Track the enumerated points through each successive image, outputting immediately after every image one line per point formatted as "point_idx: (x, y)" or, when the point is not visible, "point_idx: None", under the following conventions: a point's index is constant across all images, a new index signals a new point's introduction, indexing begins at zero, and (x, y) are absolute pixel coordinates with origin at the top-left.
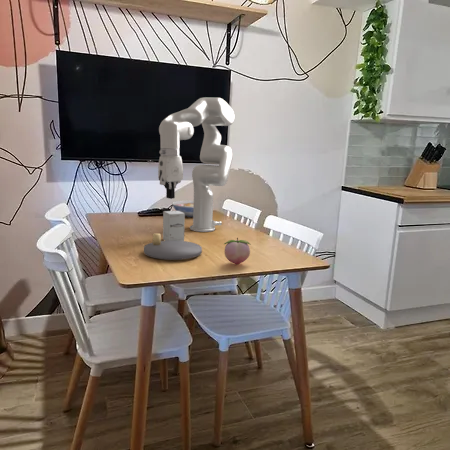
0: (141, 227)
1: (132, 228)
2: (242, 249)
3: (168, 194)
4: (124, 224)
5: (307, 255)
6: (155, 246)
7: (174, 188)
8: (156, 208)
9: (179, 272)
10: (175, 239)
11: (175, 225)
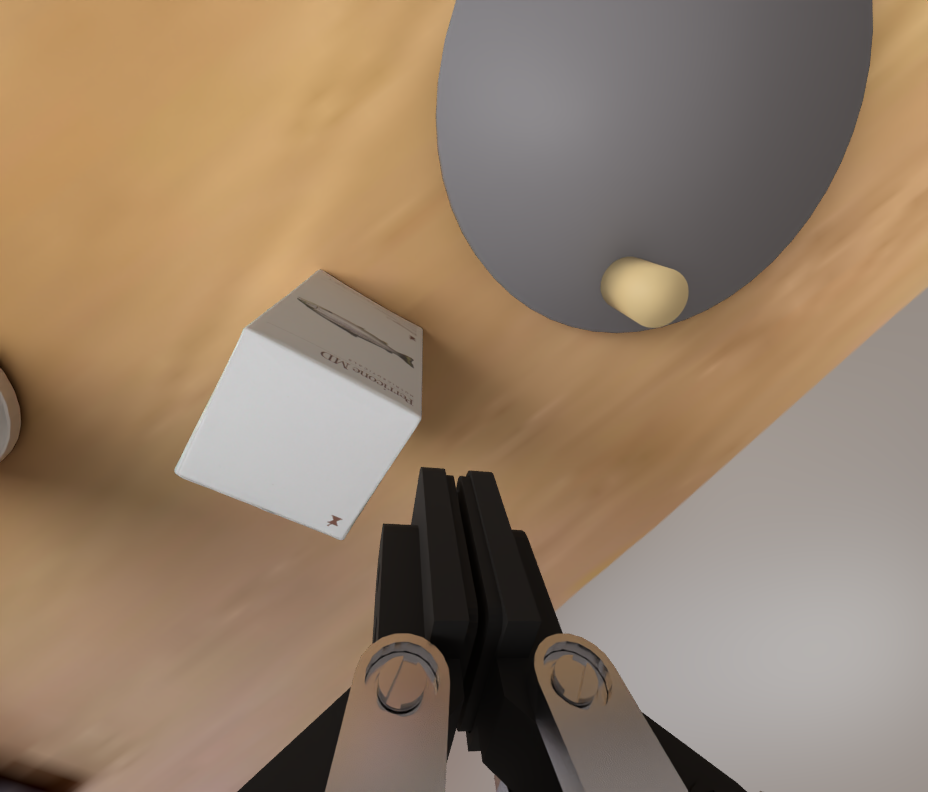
0: (251, 644)
1: (305, 653)
2: None
3: (525, 566)
4: (274, 717)
5: None
6: (680, 251)
7: (416, 637)
8: None
9: None
10: (378, 307)
11: (371, 339)
